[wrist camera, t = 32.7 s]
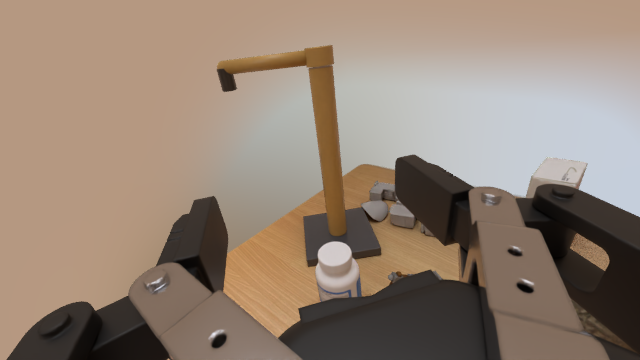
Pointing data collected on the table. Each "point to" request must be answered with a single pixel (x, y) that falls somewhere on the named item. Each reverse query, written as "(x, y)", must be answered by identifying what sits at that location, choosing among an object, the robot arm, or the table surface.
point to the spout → (273, 63)
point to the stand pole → (328, 146)
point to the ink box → (557, 174)
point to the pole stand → (355, 236)
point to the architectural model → (399, 212)
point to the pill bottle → (337, 272)
